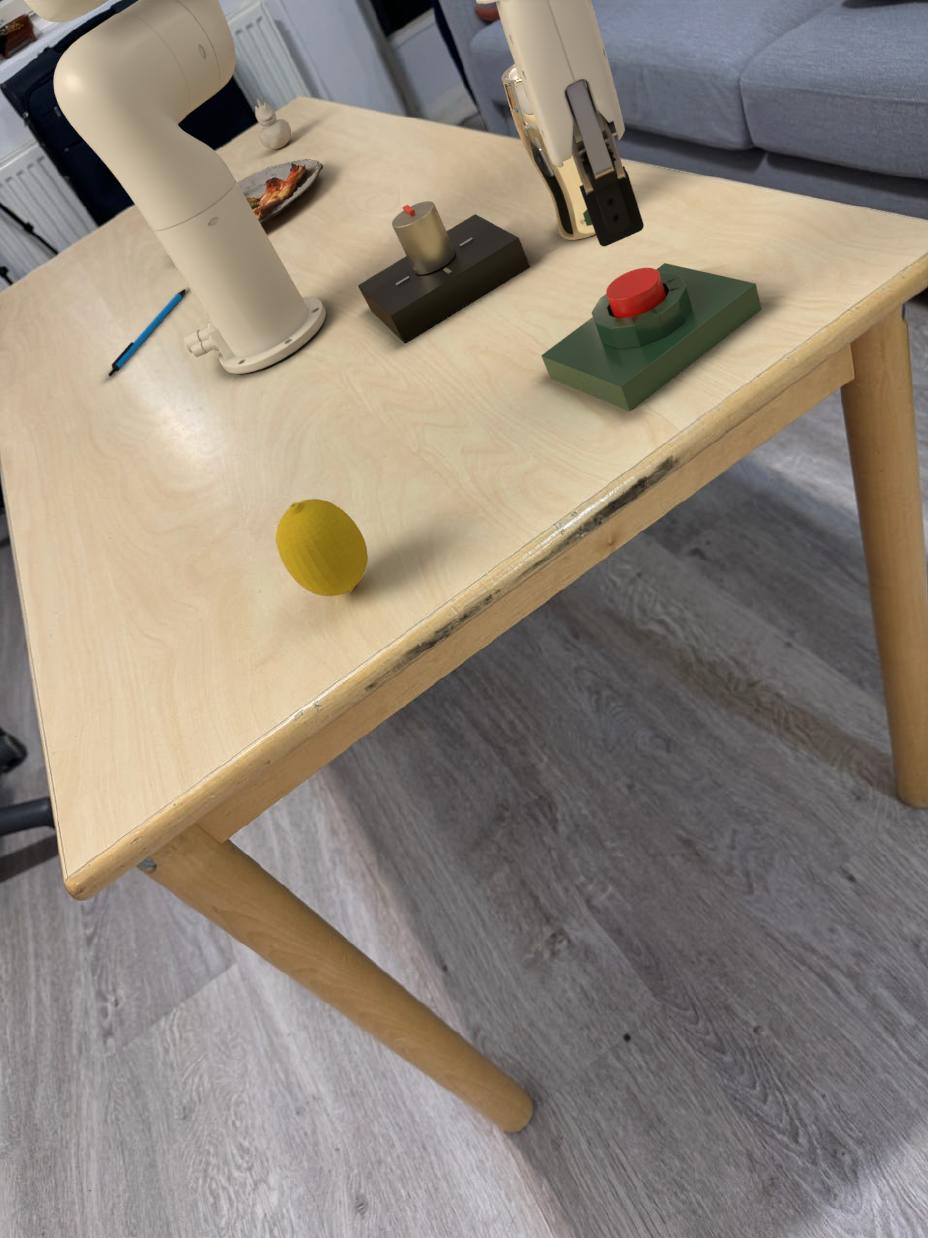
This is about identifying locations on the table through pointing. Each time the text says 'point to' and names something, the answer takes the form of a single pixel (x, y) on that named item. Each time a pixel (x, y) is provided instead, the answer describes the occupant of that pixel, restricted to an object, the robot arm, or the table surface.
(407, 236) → the knob
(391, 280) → the panel
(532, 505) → the table surface
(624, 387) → the switchbox
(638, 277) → the button
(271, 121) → the rubber duck
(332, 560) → the lemon
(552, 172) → the beer glass
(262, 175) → the food plate
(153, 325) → the pen
